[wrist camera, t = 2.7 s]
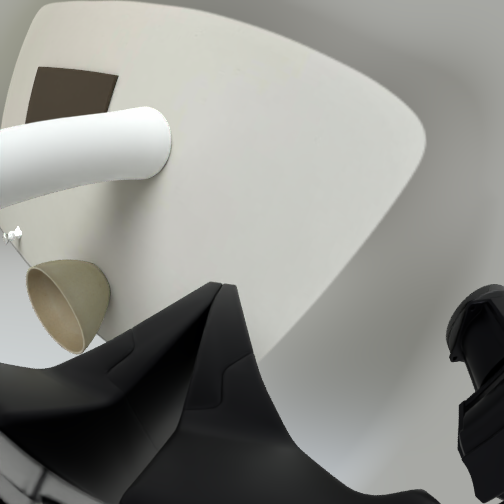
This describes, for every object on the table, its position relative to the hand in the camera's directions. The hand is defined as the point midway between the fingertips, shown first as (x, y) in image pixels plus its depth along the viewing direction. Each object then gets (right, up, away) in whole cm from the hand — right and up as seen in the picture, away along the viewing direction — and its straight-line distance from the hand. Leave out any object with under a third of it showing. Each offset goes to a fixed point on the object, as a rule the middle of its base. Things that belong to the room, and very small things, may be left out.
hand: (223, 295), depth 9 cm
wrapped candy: (-35, +4, +22) cm, 41 cm away
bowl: (-17, -2, +19) cm, 25 cm away
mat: (-19, +16, +12) cm, 28 cm away
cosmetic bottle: (-8, +10, +11) cm, 17 cm away
